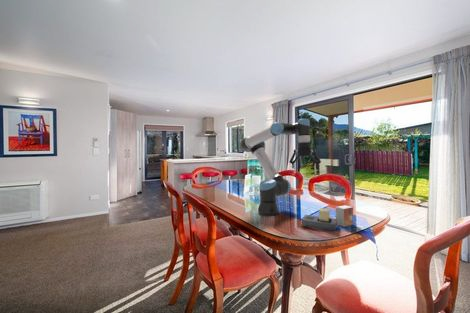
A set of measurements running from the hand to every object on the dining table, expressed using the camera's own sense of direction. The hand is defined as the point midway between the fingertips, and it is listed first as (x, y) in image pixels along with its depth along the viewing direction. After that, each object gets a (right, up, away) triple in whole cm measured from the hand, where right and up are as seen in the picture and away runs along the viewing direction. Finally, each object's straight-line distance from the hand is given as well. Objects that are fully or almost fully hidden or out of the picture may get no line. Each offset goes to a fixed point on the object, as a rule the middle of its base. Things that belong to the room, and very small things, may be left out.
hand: (304, 173), depth 138 cm
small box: (+18, -29, -17) cm, 38 cm away
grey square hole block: (+2, -29, -18) cm, 34 cm away
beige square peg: (+5, -29, -20) cm, 35 cm away
